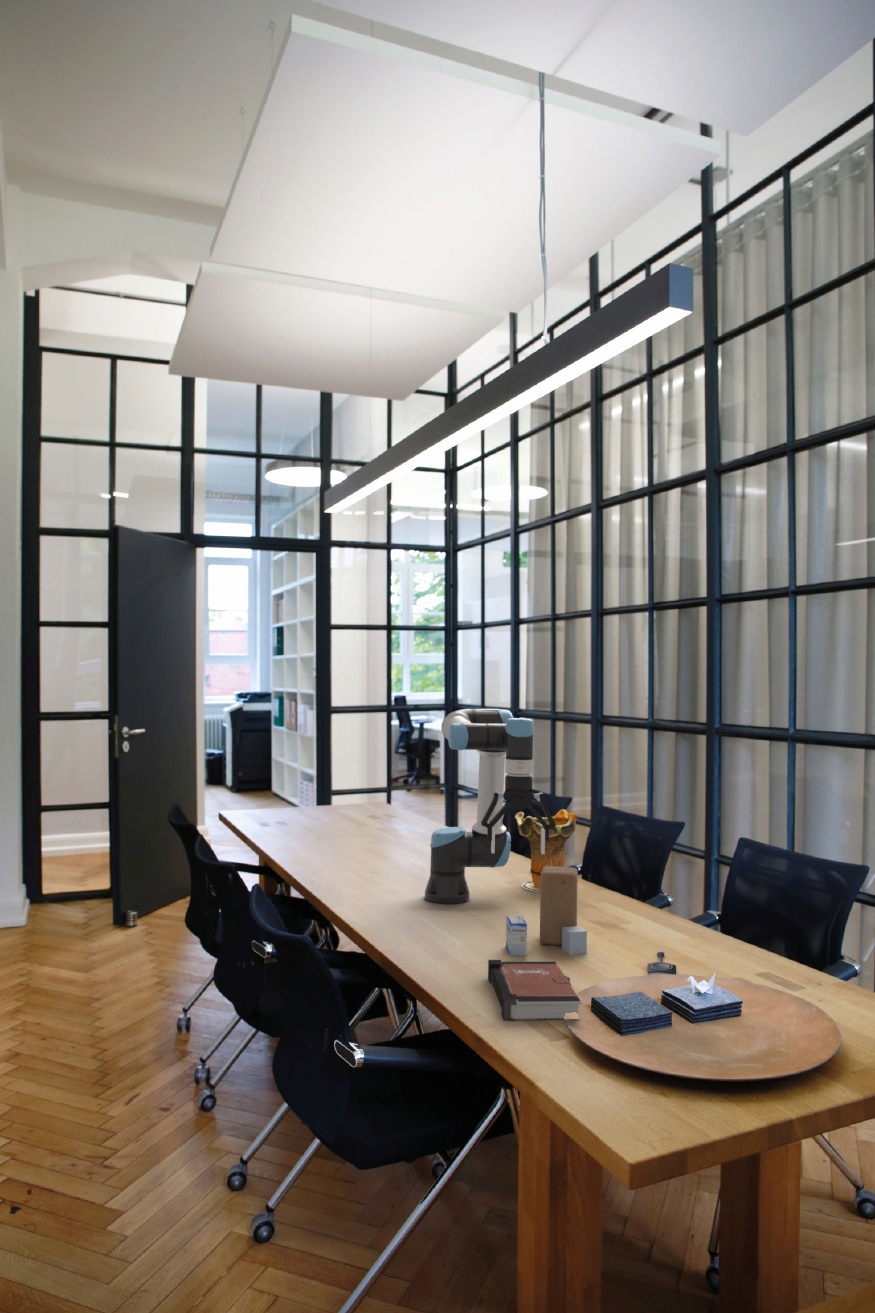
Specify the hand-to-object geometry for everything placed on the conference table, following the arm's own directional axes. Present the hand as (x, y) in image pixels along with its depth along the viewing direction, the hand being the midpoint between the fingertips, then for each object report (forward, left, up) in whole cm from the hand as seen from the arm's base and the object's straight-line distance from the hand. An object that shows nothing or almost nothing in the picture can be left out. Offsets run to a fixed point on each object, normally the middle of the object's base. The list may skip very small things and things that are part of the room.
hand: (517, 853), depth 231 cm
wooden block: (+13, +10, -27) cm, 31 cm away
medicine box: (0, 0, -27) cm, 27 cm away
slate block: (+16, +1, -27) cm, 31 cm away
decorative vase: (+18, +73, -27) cm, 80 cm away
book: (0, -34, -27) cm, 44 cm away
